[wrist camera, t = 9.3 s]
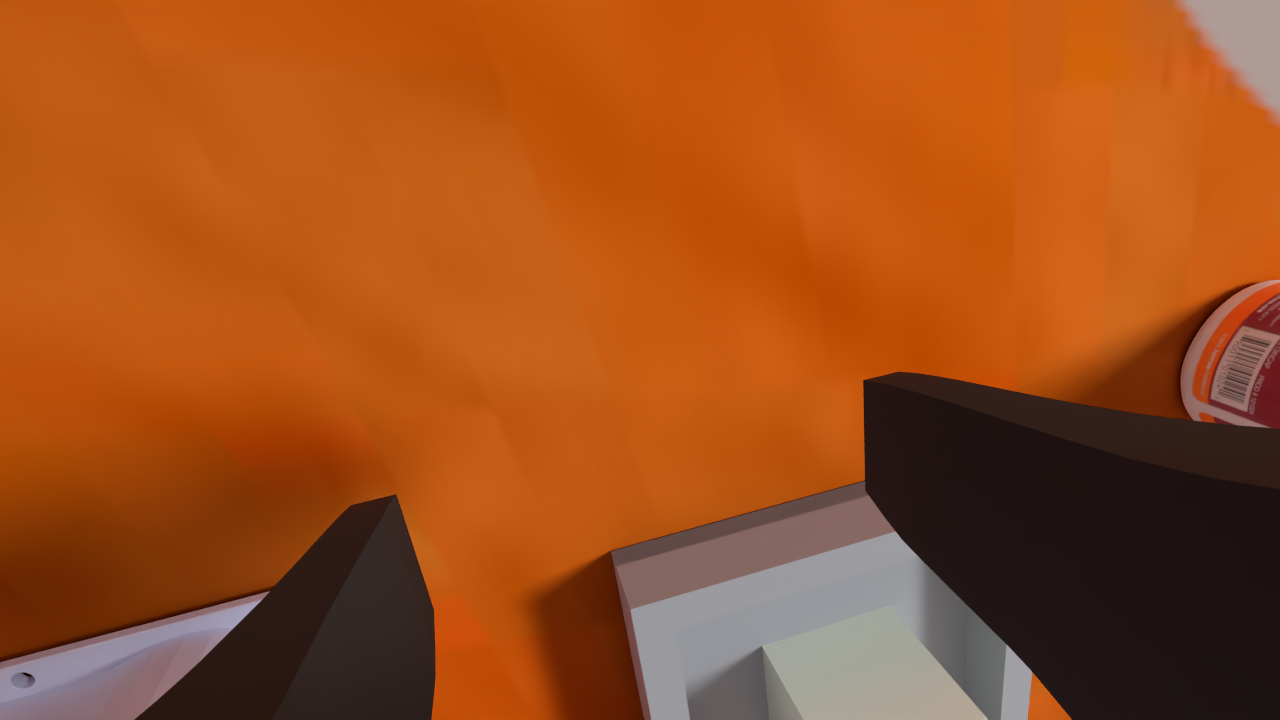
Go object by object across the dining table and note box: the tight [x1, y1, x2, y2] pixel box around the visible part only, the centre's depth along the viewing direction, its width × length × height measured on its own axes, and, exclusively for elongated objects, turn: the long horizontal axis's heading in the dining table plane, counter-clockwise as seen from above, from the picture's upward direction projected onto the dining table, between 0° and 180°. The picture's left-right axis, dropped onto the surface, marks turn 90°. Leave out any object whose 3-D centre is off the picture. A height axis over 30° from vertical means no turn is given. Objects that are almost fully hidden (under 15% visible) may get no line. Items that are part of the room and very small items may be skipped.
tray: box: [611, 481, 1032, 720], centre depth 24 cm, size 14×16×3 cm
